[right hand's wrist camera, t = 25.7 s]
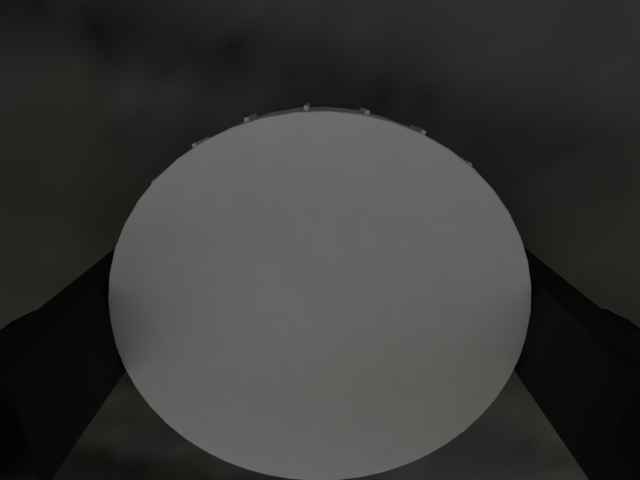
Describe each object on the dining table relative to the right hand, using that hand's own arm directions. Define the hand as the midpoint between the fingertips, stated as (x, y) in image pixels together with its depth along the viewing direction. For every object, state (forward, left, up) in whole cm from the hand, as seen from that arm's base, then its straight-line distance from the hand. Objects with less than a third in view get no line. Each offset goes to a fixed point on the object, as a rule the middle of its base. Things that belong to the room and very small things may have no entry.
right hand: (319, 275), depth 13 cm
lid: (0, 0, +3) cm, 3 cm away
